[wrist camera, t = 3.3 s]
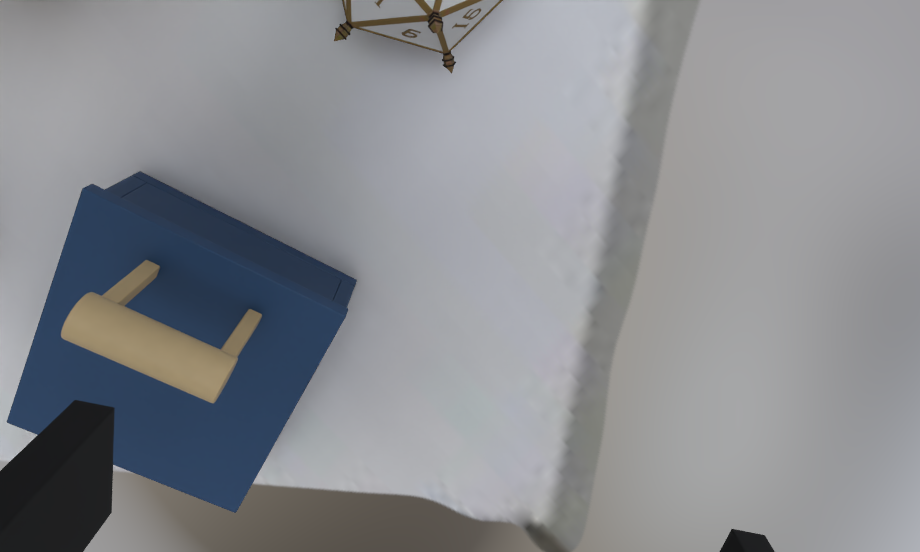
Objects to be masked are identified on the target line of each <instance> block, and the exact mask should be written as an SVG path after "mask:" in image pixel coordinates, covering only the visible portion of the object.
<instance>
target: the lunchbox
mask: <svg viewBox="0 0 920 552" xmlns="http://www.w3.org/2000/svg"><path fill="white" fill-rule="evenodd" d="M105 190H106V191H108V192H110V193H112V194H114V195H116V196H119V197H121V198H123V199H125V200H127V201H129V202H131V203H133V204H135V205H137V206H139V207H141V208H143V209H145V210H147V211H149V212H151V213H153V214H155V215H157V216H159V217H162V218H164V219H166V220H168V221H170V222H172V223H174V224H176V225H178V226H180V227H182V228H184V229H186V230H188V231H190V232H192V233H194V234H196V235H198V236H200V237H202V238H204V239H207V240H209V241H211V242H213V243H215V244H217V245H219V246H221V247H223V248H225V249H227V250H229V251H231V252H233V253H235V254H237V255H239V256H241V257H243V258H245V259H247V260H250V261H252V262H254V263H256V264H258V265H260V266H262V267H264V268H266V269H268V270H270V271H272V272H274V273H276V274H278V275H280V276H282V277H284V278H286V279H288V280H290V281H292V282H295V283H297V284H299V285H301V286H303V287H305V288H307V289H309V290H311V291H313V292H315V293H317V294H319V295H321V296H323V297H325V298H327V299H329V300H331V301H333V302H335V303H338V304H340V305H342V306H344V307H346V308H347V306H348V303H349V300H350V298H351V295H352V292H353V290H354V287H355V284H356V282H357V280H356V279H354V278H352V277H350V276H348V275H346V274H344V273H342V272H340V271H338V270H336V269H334V268H332V267H330V266H328V265H326V264H324V263H322V262H320V261H318V260H316V259H314V258H312V257H310V256H308V255H306V254H304V253H302V252H300V251H298V250H296V249H294V248H292V247H290V246H288V245H286V244H284V243H282V242H280V241H278V240H276V239H274V238H272V237H270V236H268V235H266V234H264V233H262V232H260V231H258V230H256V229H254V228H252V227H250V226H248V225H246V224H244V223H242V222H240V221H238V220H236V219H234V218H232V217H230V216H228V215H226V214H224V213H222V212H220V211H218V210H216V209H214V208H212V207H210V206H208V205H206V204H204V203H202V202H200V201H198V200H196V199H194V198H192V197H190V196H188V195H186V194H184V193H182V192H180V191H178V190H176V189H174V188H172V187H170V186H168V185H166V184H164V183H162V182H160V181H158V180H156V179H154V178H152V177H150V176H148V175H146V174H144V173H142V172H138V173H136V174H134V175H132V176H130V177H128V178H126V179H124V180H123V181H121V182H119V183H117V184H115V185H113V186H111V187H109V188H107V189H105Z"/></svg>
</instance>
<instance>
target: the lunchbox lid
mask: <svg viewBox="0 0 920 552" xmlns="http://www.w3.org/2000/svg"><path fill="white" fill-rule="evenodd" d="M347 312H348V308H346V307H344V306H342V305H340V304H338V303H335V302H333V301H331V300H329V299H327V298H325V297H323V296H321V295H319V294H317V293H315V292H313V291H311V290H309V289H307V288H305V287H303V286H301V285H299V284H297V283H295V282H292V281H290V280H288V279H286V278H284V277H282V276H280V275H278V274H276V273H274V272H272V271H270V270H268V269H266V268H264V267H262V266H260V265H258V264H256V263H254V262H252V261H250V260H247V259H245V258H243V257H241V256H239V255H237V254H235V253H233V252H231V251H229V250H227V249H225V248H223V247H221V246H219V245H217V244H215V243H213V242H211V241H209V240H207V239H204V238H202V237H200V236H198V235H196V234H194V233H192V232H190V231H188V230H186V229H184V228H182V227H180V226H178V225H176V224H174V223H172V222H170V221H168V220H166V219H164V218H162V217H159V216H157V215H155V214H153V213H151V212H149V211H147V210H145V209H143V208H141V207H139V206H137V205H135V204H133V203H131V202H129V201H127V200H125V199H123V198H121V197H119V196H116V195H114V194H112V193H110V192H108V191H106V190H104V189H102V188H100V187H98V186H96V185H94V184H91V185H89V186H87V187H85V188H83V189H82V192H81V195H80V198H79V201H78V204H77V207H76V210H75V213H74V216H73V220H72V223H71V226H70V229H69V232H68V235H67V238H66V241H65V244H64V247H63V250H62V253H61V256H60V260H59V263H58V266H57V269H56V272H55V275H54V278H53V281H52V284H51V287H50V290H49V293H48V296H47V300H46V303H45V306H44V309H43V312H42V315H41V318H40V321H39V324H38V327H37V330H36V333H35V336H34V340H33V343H32V346H31V349H30V352H29V355H28V358H27V361H26V364H25V367H24V370H23V373H22V376H21V380H20V383H19V386H18V389H17V392H16V395H15V398H14V401H13V404H12V407H11V410H10V413H9V416H8V420H7V423H10V424H12V425H15V426H17V427H20V428H22V429H25V430H27V431H30V432H32V433H35V434H37V435H39V434H40V433H41V432H42V431H43V430H44V429H45V428H46V427H47V426H48V425H49V424H50V423H51V422H52V421H53V420H54V419H55V418H56V417H57V416H59V415H60V414H61V413H62V412H63V411H64V410H65V409H66V408H67V407H68V406H69V405H70V404H71V403H72V402H73V401H74V400H79V401H84V402H89V403H94V404H99V405H104V406H110V407H115V413H114V445H113V465H116V466H118V467H121V468H123V469H126V470H128V471H131V472H133V473H136V474H138V475H141V476H144V477H146V478H149V479H151V480H154V481H156V482H159V483H161V484H164V485H167V486H169V487H171V488H174V489H176V490H179V491H181V492H184V493H186V494H189V495H192V496H194V497H197V498H199V499H202V500H204V501H207V502H209V503H212V504H214V505H217V506H220V507H222V508H224V509H227V510H229V511H232V512H234V513H236V512H237V510H238V508H239V506H240V505H241V503H242V501H243V499H244V497H245V496H246V494H247V492H248V490H249V488H250V486H251V485H252V483H253V481H254V480H255V478H256V476H257V474H258V472H259V471H260V469H261V467H262V465H263V463H264V462H265V460H266V458H267V456H268V455H269V453H270V451H271V449H272V447H273V446H274V444H275V442H276V440H277V438H278V437H279V435H280V433H281V431H282V429H283V428H284V426H285V424H286V422H287V421H288V419H289V417H290V415H291V413H292V412H293V410H294V408H295V406H296V404H297V403H298V401H299V399H300V397H301V396H302V394H303V392H304V390H305V388H306V387H307V385H308V383H309V381H310V379H311V378H312V376H313V374H314V372H315V370H316V369H317V367H318V365H319V363H320V362H321V360H322V358H323V356H324V354H325V353H326V351H327V349H328V347H329V345H330V344H331V342H332V340H333V338H334V337H335V335H336V333H337V331H338V329H339V328H340V326H341V324H342V322H343V320H344V319H345V317H346V314H347Z"/></svg>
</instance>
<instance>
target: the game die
mask: <svg viewBox="0 0 920 552" xmlns="http://www.w3.org/2000/svg"><path fill="white" fill-rule="evenodd" d="M342 1H343V6H344V10H345V15H346V19H347V21H346V23H344V24H342V25H341V24H340V26H339V27H338V28H335V29H336V33H335V39H334V41H338V40H342V39H345V40H346V37H347V36H348V35H350V31H351V29H352V28H357V29H360V30H363V31H367V32H370V33H374V34H377V35H381V36H384V37H388V38H391V39H395V40H398V41H401V42H405V43H408V44H412V45H415V46H419V47H422V48H426V49H429V50H433V51H436V52H439V53H443V59H442V61H444V65H443V66H444V67H446V68H447V69H448V70H449V71H450V72H451V73H452V71H453V67H454V65H455V63H456V62H454V56H452V54H451V50H452V49H453V48H454V47H455V46H456V45H457V44H458V43H459V42H460V41H461V40H462V39H464V38H465V37H466V36H467V35H468V34H469V33H470V32H471V31H472V30H473V29H474V28H475V27H476V26H477V25H478V24H479V23H480V22H481V21H482V20H483V19H484V18H485V17H486V16H487V15H488V14H489V13H490V12H491V11H492V10H493V9H494V8H495V7H496V6H497V5H498V4H499V3H501V2H502V1H503V0H342Z"/></svg>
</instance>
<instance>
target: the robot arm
mask: <svg viewBox="0 0 920 552" xmlns="http://www.w3.org/2000/svg"><path fill="white" fill-rule="evenodd" d="M114 413H115V407H110V406H104V405H99V404H94V403H89V402H84V401H79V400H74V401H73V402H72V403H71V404H70V405H69V406H68V407H67V408H66V409H65V410H64V411H63V412H62V413H61V414H60V415H59V416H57V417H56V418H55V419H54V420H53V421H52V422H51V423H50V424H49V425H48V426H47V427H46V428H45V429H44V430H43V431H42V432H41V433H40V434H39V435H38V436H36V437H35V438H34V439H33V440H32V441H31V442H30V443H29V444H28V445H27V446H26V447H25V448H24V449H23V450H22V451H21V452H20V453H19V454H18V455H17V456H16V457H14V458H13V459H12V460H11V461H10V462H9V463H8V464H7V465H6V466H5V467H4V468H3V469H2V470H1V471H0V552H83V551H84V549H85V548H86V547H87V545H88V544H89V543H90V541H91V540H92V539H93V537H94V535H95V534H96V533H97V532H98V530H99V529H100V528H101V526H102V525H103V523H104V522H105V521H106V519H107V518H108V516H109V515H110V514H111V510H112V476H113V445H114ZM720 552H774V550H773V548H772V547H771V545H770V543H769V542H768V540H767V539H766V537H765V536H764V535H760V534H755V533H750V532H745V531H740V530H734V529H732V530H731V532H730V533H729V535H728V537H727V539H726V541H725V543H724V545H723V547H722V548H721V550H720Z"/></svg>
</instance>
